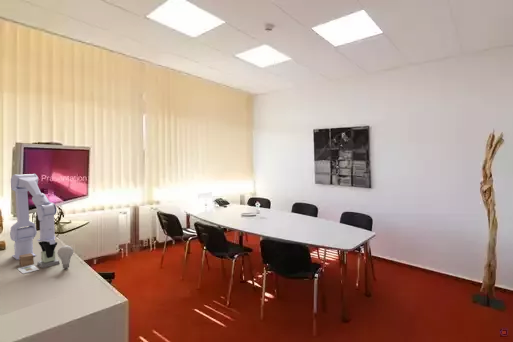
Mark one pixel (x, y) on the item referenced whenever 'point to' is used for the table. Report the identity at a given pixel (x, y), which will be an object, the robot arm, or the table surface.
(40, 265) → the slab
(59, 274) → the table surface
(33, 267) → the blueprint sheet
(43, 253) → the block
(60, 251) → the lightbulb
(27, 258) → the block
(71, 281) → the table surface
